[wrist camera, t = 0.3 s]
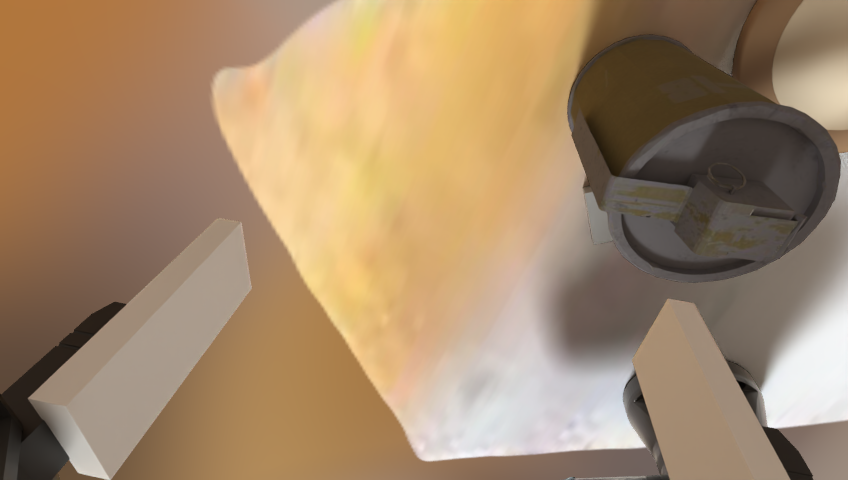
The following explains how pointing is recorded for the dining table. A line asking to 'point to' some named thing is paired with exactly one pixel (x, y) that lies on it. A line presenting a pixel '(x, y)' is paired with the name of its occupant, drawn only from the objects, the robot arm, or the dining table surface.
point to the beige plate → (799, 59)
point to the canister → (696, 162)
